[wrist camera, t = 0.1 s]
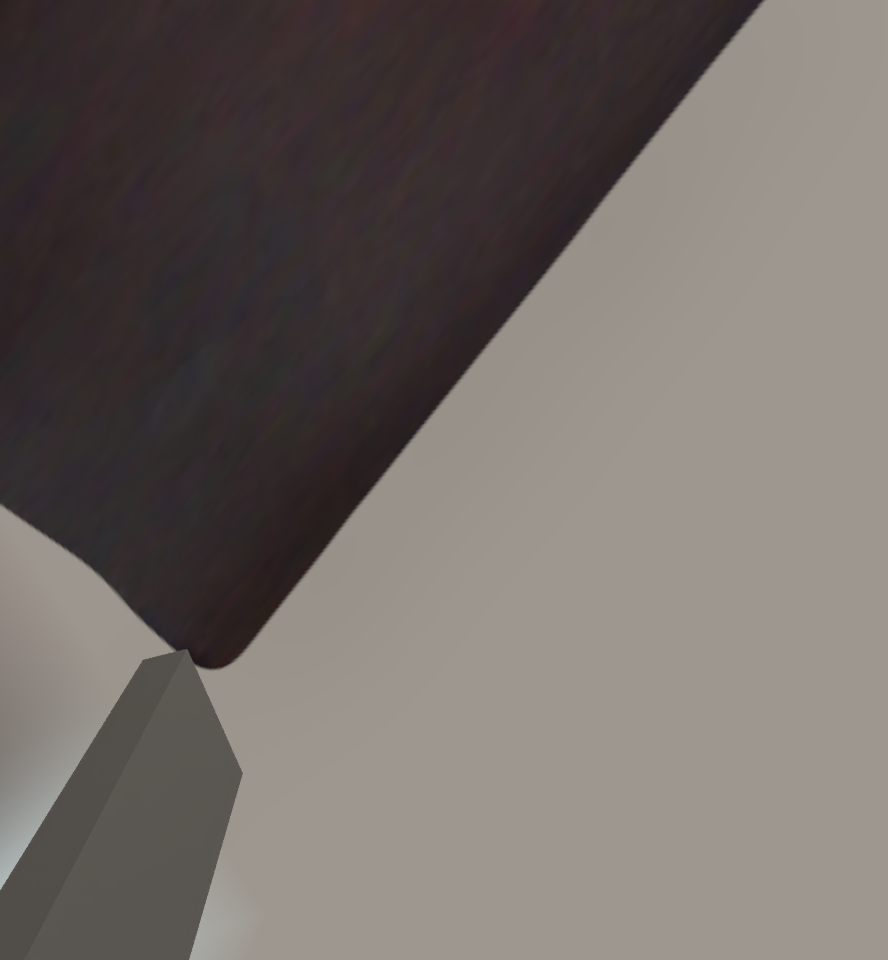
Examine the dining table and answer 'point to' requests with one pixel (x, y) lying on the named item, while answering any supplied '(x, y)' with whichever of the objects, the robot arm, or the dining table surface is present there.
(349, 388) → the dining table surface
